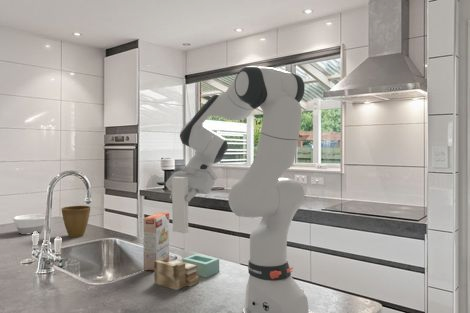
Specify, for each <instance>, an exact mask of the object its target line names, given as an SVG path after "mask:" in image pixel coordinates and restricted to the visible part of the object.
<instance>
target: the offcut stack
mask: <svg viewBox="0 0 470 313" xmlns="http://www.w3.org/2000/svg"><path fill="white" fill-rule="evenodd" d="M167 263H171V264H175V265H177V264H180V263H185V262H183V261H180V260H176V259H175V260H172V261H168V262H167ZM196 271H197V265H193V264H189V263H185V276H186V286H187V287H192V286H194V285H196V284H198V283H200V276H198V275H197V274H196Z"/></svg>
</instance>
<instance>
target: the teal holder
mask: <svg viewBox="0 0 470 313" xmlns="http://www.w3.org/2000/svg"><path fill="white" fill-rule="evenodd" d="M182 262H185V263H189V264H193V265H197V271H196V274H197V276H199V277H202V278H208V277H210V276H213V275H214V274H217V273H219V272H220V258H216V257H212V256H207V255H203V254H200V253H195V254H193V255H190V256H187V257H184V258H182Z"/></svg>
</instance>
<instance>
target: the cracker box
mask: <svg viewBox="0 0 470 313" xmlns="http://www.w3.org/2000/svg"><path fill="white" fill-rule="evenodd" d="M142 226H143V270H144V271H145V270H146V271H154V261H156V260H159V259H162V258H165V259H166V262H167V263H168V262H170V213H169V212H156V213H153V214H151V215H149V216H146V217H144V218H143V225H142Z"/></svg>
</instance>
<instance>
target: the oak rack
mask: <svg viewBox="0 0 470 313" xmlns="http://www.w3.org/2000/svg"><path fill="white" fill-rule="evenodd" d="M153 272H154V275H153V276H154V284H156V285H159V286H162V287H166V288H170V289H172V290H176V291H178V290H179V289H182V288H184V287H186V286H187V285H186V276H185V263H180V264H177V265H175V264H171V263H168V262H166V259H165V258H162V259H159V260H156V261H154V270H153Z"/></svg>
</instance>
